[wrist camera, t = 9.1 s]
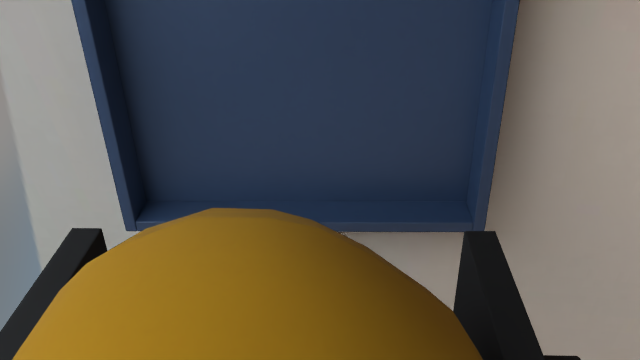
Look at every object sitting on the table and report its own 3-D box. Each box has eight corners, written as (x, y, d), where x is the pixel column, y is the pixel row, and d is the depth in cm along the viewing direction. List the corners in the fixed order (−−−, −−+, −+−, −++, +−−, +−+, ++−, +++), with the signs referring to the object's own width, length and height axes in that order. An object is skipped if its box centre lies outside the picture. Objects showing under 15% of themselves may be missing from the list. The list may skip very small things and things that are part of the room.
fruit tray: (140, 203, 32) (125, 231, 29) (69, -130, 23) (40, -127, 21) (474, 204, 31) (484, 232, 29) (521, -140, 23) (541, -138, 20)
